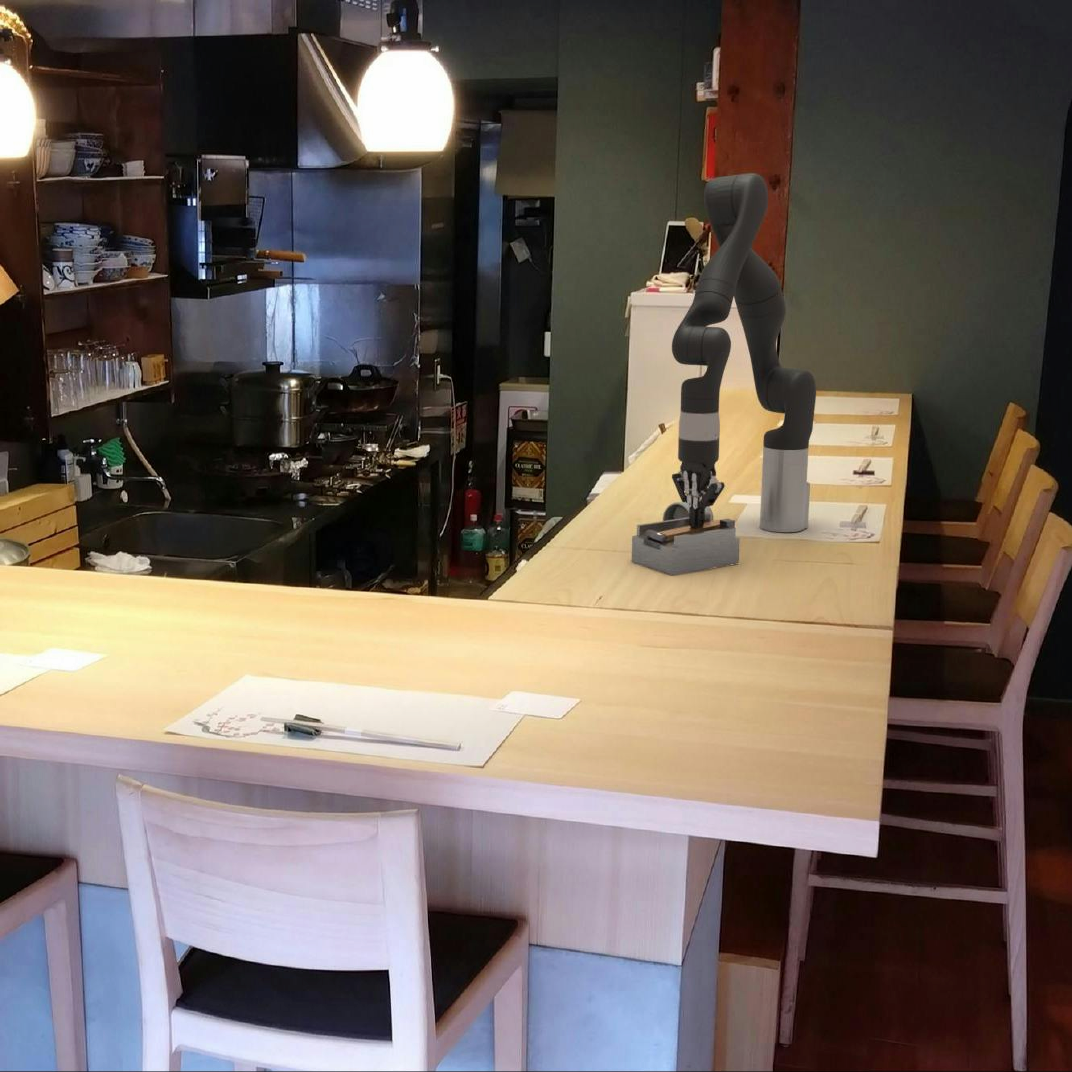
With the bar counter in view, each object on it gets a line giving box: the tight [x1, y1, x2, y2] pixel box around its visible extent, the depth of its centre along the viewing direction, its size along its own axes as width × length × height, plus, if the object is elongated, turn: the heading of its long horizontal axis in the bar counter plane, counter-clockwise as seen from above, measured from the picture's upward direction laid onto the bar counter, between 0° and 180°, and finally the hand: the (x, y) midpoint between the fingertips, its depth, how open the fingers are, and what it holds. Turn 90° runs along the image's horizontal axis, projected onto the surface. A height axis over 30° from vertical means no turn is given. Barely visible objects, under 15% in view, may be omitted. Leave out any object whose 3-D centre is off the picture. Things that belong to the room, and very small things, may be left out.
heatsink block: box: [631, 513, 741, 576], centre depth 252 cm, size 16×12×8 cm
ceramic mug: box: [662, 501, 714, 521], centre depth 273 cm, size 11×8×8 cm
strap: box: [646, 519, 721, 543], centre depth 251 cm, size 17×4×2 cm, turn 123°
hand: (696, 526), depth 252 cm, fingers closed
